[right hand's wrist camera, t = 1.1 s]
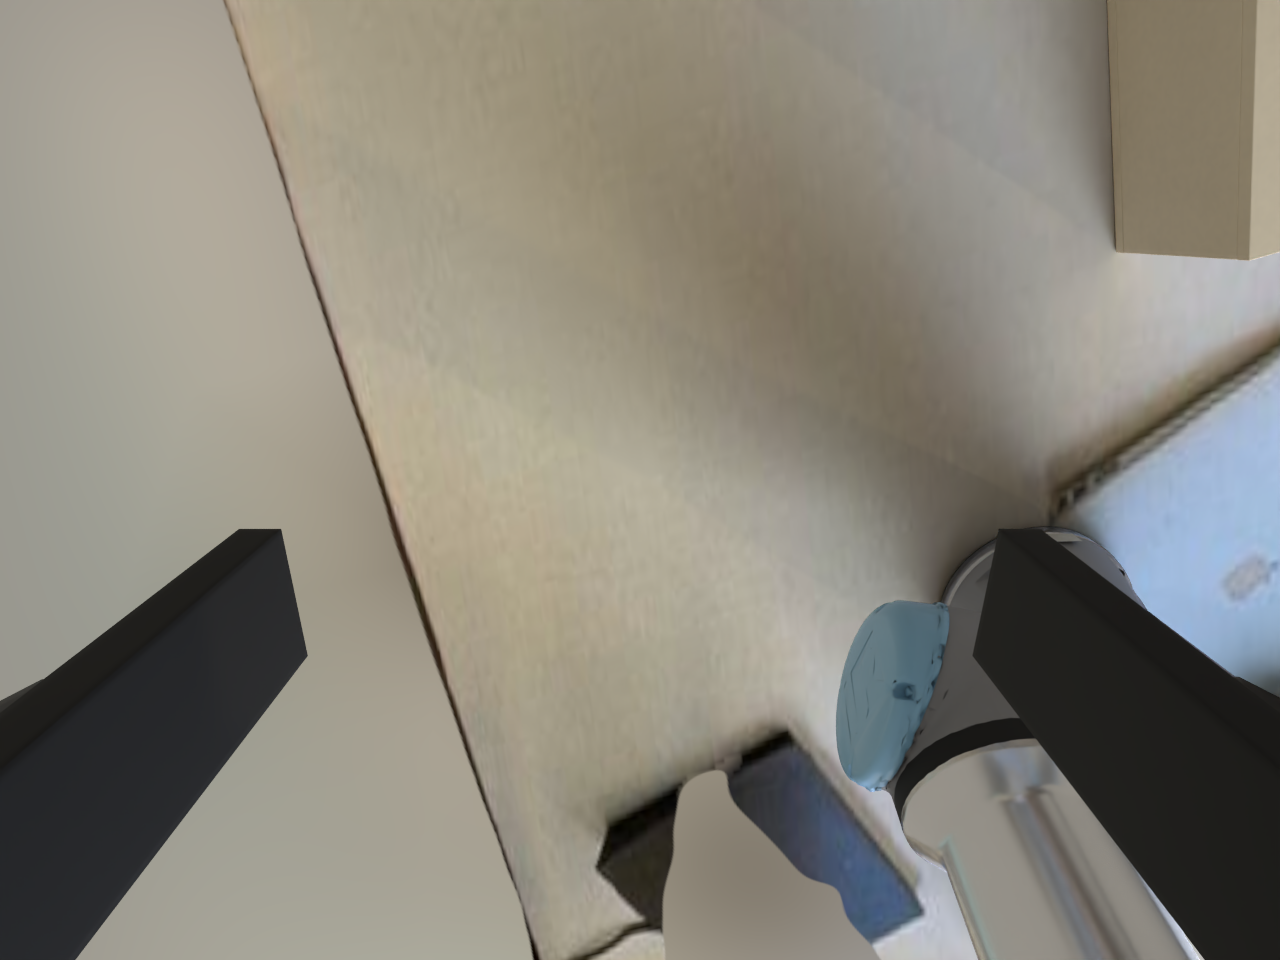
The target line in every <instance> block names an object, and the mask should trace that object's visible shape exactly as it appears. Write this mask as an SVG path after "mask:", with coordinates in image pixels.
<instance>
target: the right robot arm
mask: <svg viewBox="0 0 1280 960" xmlns="http://www.w3.org/2000/svg"><path fill="white" fill-rule="evenodd" d="M307 656H308V655H307V650H306V646H305V641H304V636H303V632H302V627H301V622H300V617H299V612H298V608H297V603H296V598H295V593H294V588H293V584H292V579H291V574H290V569H289V565H288V560H287V555H286V550H285V546H284V541H283V536H282V531H281V529H239V530H237V531H236V532H235V533H233V534H232V535H231V536H229V537H228V538H227V539H226V540H224V541H223V542H222V543H220V544H219V545H218V546H216V547H215V548H214V549H213V550H211V551H210V552H209V553H207V554H206V555H205V556H204V557H202V558H201V559H200V560H198V561H197V562H196V563H194V564H193V565H192V566H190V567H189V568H188V569H187V570H185V571H184V572H183V573H181V574H180V575H179V576H177V577H176V578H175V579H174V580H172V581H171V582H170V583H168V584H167V585H166V586H165V587H163V588H162V589H161V590H159V591H158V592H157V593H155V594H154V595H153V596H152V597H150V598H149V599H148V600H146V601H145V602H144V603H142V604H141V605H140V606H138V607H137V608H136V609H135V610H133V611H132V612H131V613H129V614H128V615H127V616H125V617H124V618H123V619H121V620H120V621H119V622H118V623H116V624H115V625H114V626H112V627H111V628H110V629H108V630H107V631H106V632H105V633H103V634H102V635H101V636H99V637H98V638H97V639H95V640H94V641H93V642H92V643H90V644H89V645H88V646H86V647H85V648H84V649H82V650H81V651H80V652H79V653H77V654H76V655H75V656H73V657H72V658H71V659H69V660H68V661H67V662H66V663H64V664H63V665H62V666H60V667H59V668H58V669H56V670H55V671H54V672H53V673H51V674H50V675H49V676H47V677H46V678H45V679H42V680H40V681H38V682H36V683H34V684H32V685H30V686H28V687H26V688H24V689H22V690H20V691H19V692H17V693H15V694H13V695H11V696H9V697H7V698H5V699H3V700H1V701H0V960H75V959H76V958H77V957H78V956H79V954H80V953H81V952H82V950H83V949H84V948H85V946H86V945H87V944H88V942H89V941H90V940H91V939H92V937H93V936H94V935H95V933H96V932H97V931H98V929H99V928H100V927H101V925H102V924H103V923H104V922H105V920H106V919H107V918H108V916H109V915H110V914H111V912H112V911H113V910H114V908H115V907H116V906H117V905H118V903H119V902H120V901H121V899H122V898H123V897H124V895H125V894H126V893H127V891H128V890H129V889H130V888H131V886H132V885H133V883H134V882H135V881H136V880H137V878H138V877H139V876H140V874H141V873H142V872H143V871H144V869H145V868H146V867H147V865H148V864H149V863H150V861H151V860H152V859H153V857H154V856H155V855H156V854H157V852H158V851H159V850H160V848H161V847H162V846H163V844H164V843H165V842H166V840H167V839H168V838H169V836H170V835H171V834H172V833H173V831H174V830H175V829H176V827H177V826H178V825H179V823H180V822H181V821H182V819H183V818H184V817H185V816H186V814H187V813H188V812H189V810H190V809H191V808H192V806H193V805H194V804H195V802H196V801H197V800H198V798H199V797H200V796H201V795H202V793H203V792H204V791H205V789H206V788H207V787H208V785H209V784H210V783H211V782H212V780H213V779H214V778H215V776H216V775H217V774H218V772H219V771H220V770H221V768H222V767H223V766H224V765H225V763H226V762H227V761H228V759H229V758H230V757H231V755H232V754H233V753H234V751H235V750H236V749H237V748H238V746H239V745H240V744H241V742H242V741H243V740H244V738H245V737H246V736H247V734H248V733H249V732H250V731H251V729H252V728H253V727H254V725H255V724H256V723H257V721H258V720H259V719H260V717H261V716H262V715H263V714H264V712H265V711H266V710H267V708H268V707H269V706H270V704H271V703H272V702H273V700H274V699H275V698H276V697H277V695H278V694H279V693H280V691H281V690H282V689H283V687H284V686H285V685H286V683H287V682H288V681H289V680H290V678H291V677H292V676H293V674H294V673H295V672H296V670H297V669H298V668H299V666H300V665H301V664H302V663H303V661H304V660H305V659H306V657H307ZM972 656H973V657H974V659H975V660H976V661H977V663H978V664H979V665H980V666H981V668H982V669H983V670H984V672H985V673H986V674H987V676H988V677H989V678H990V680H991V681H992V682H993V683H994V685H995V686H996V687H997V689H998V690H999V691H1000V693H1001V694H1002V695H1003V697H1004V698H1005V699H1006V700H1007V702H1008V703H1009V704H1010V706H1011V707H1012V708H1013V710H1014V711H1015V712H1016V714H1017V715H1018V716H1019V717H1020V719H1021V720H1022V721H1023V723H1024V724H1025V725H1026V727H1027V728H1028V729H1029V731H1030V732H1031V733H1032V734H1033V736H1034V737H1035V738H1036V740H1037V741H1038V742H1039V744H1040V745H1041V746H1042V748H1043V749H1044V750H1045V751H1046V753H1047V754H1048V755H1049V757H1050V758H1051V759H1052V761H1053V762H1054V763H1055V765H1056V766H1057V767H1058V768H1059V770H1060V771H1061V772H1062V774H1063V775H1064V776H1065V778H1066V779H1067V780H1068V782H1069V783H1070V784H1071V785H1072V787H1073V788H1074V789H1075V791H1076V792H1077V793H1078V795H1079V796H1080V797H1081V799H1082V800H1083V801H1084V802H1085V804H1086V805H1087V806H1088V808H1089V809H1090V810H1091V812H1092V813H1093V814H1094V816H1095V817H1096V818H1097V819H1098V821H1099V822H1100V823H1101V825H1102V826H1103V827H1104V829H1105V830H1106V831H1107V833H1108V834H1109V835H1110V837H1111V838H1112V839H1113V840H1114V842H1115V843H1116V844H1117V846H1118V847H1119V848H1120V850H1121V851H1122V852H1123V854H1124V855H1125V856H1126V857H1127V859H1128V860H1129V861H1130V863H1131V864H1132V865H1133V867H1134V868H1135V869H1136V871H1137V872H1138V873H1139V874H1140V876H1141V877H1142V878H1143V880H1144V881H1145V882H1146V884H1147V885H1148V886H1149V888H1150V889H1151V890H1152V891H1153V893H1154V894H1155V895H1156V897H1157V898H1158V899H1159V901H1160V902H1161V903H1162V905H1163V906H1164V907H1165V908H1166V910H1167V911H1168V912H1169V914H1170V915H1171V916H1172V918H1173V919H1174V920H1175V922H1176V923H1177V924H1178V925H1179V927H1180V928H1181V929H1182V931H1183V932H1184V933H1185V935H1186V936H1187V937H1188V939H1189V940H1190V941H1191V942H1192V944H1193V945H1194V946H1195V948H1196V949H1197V950H1198V952H1199V953H1200V954H1201V956H1202V957H1203V958H1204V959H1205V960H1280V698H1279V697H1277V696H1275V695H1273V694H1271V693H1269V692H1267V691H1265V690H1263V689H1262V688H1260V687H1258V686H1256V685H1254V684H1252V683H1250V682H1248V681H1246V680H1244V679H1242V678H1240V677H1233V676H1231V675H1230V674H1229V673H1227V672H1226V671H1225V670H1224V669H1222V668H1221V667H1220V666H1218V665H1217V664H1216V663H1214V662H1213V661H1212V660H1211V659H1209V658H1208V657H1207V656H1205V655H1204V654H1203V653H1201V652H1200V651H1199V650H1198V649H1196V648H1195V647H1194V646H1192V645H1191V644H1190V643H1188V642H1187V641H1186V640H1185V639H1183V638H1182V637H1181V636H1179V635H1178V634H1177V633H1175V632H1174V631H1173V630H1172V629H1170V628H1169V627H1168V626H1166V625H1165V624H1164V623H1162V622H1161V621H1160V620H1159V619H1157V618H1156V617H1155V616H1153V615H1152V614H1151V613H1149V612H1148V611H1147V610H1145V609H1144V608H1143V607H1142V606H1140V605H1139V604H1138V603H1136V602H1135V601H1134V600H1132V599H1131V598H1130V597H1129V596H1127V595H1126V594H1125V593H1123V592H1122V591H1121V590H1119V589H1118V588H1117V587H1116V586H1114V585H1113V584H1112V583H1110V582H1109V581H1108V580H1106V579H1105V578H1104V577H1103V576H1101V575H1100V574H1099V573H1097V572H1096V571H1095V570H1093V569H1092V568H1091V567H1090V566H1088V565H1087V564H1086V563H1084V562H1083V561H1082V560H1080V559H1079V558H1078V557H1077V556H1075V555H1074V554H1073V553H1071V552H1070V551H1069V550H1067V549H1066V548H1065V547H1064V546H1062V545H1061V544H1060V543H1058V542H1057V541H1056V540H1054V539H1053V538H1052V537H1051V536H1049V535H1048V534H1047V533H1045V532H1044V531H1043V530H1041V529H999V531H998V536H997V541H996V545H995V550H994V555H993V560H992V565H991V569H990V574H989V579H988V584H987V588H986V593H985V598H984V603H983V607H982V612H981V617H980V622H979V627H978V631H977V636H976V641H975V646H974V650H973V655H972Z"/></svg>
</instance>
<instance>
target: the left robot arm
mask: <svg viewBox="0 0 1280 960" xmlns="http://www.w3.org/2000/svg"><path fill="white" fill-rule="evenodd" d="M1027 529H1041V530H1043V531H1044V532H1045V533H1047V534H1048V535H1049V536H1051V537H1052V538H1053V539H1054V540H1056V541H1057V542H1058V543H1060V544H1061V545H1062V546H1064V547H1065V548H1066V549H1067V550H1069V551H1070V552H1071V553H1073V554H1074V555H1075V556H1077V557H1078V558H1079V559H1080V560H1082V561H1083V562H1084V563H1086V564H1087V565H1088V566H1090V567H1091V568H1092V569H1093V570H1095V571H1096V572H1097V573H1099V574H1100V575H1101V576H1103V577H1104V578H1105V579H1106V580H1108V581H1109V582H1110V583H1112V584H1113V585H1114V586H1116V587H1117V588H1118V589H1119V590H1121V591H1122V592H1123V593H1125V594H1126V595H1127V596H1129V597H1130V598H1131V599H1132V600H1134V601H1135V602H1136V603H1138V604H1139V605H1140V606H1142V607H1143V608H1144V609H1145V610H1147V609H1146V608H1145V606H1144V604H1143V603H1142V601H1141V600H1140V598H1139V597H1138V596H1137V595H1136V593H1135V592H1134V590H1133V588H1132V585H1131V582H1130V580H1129V578H1128V576H1127V574H1126V572H1125V570H1124V569H1123V567H1122V566H1121V565H1120V564H1119V562H1118V561H1117V560H1116V559H1115V558H1114V557H1113V556H1112V555H1111V554H1110V553H1109V552H1108V551H1107V550H1106V549H1104V548H1103V547H1102V546H1100V545H1099V544H1097V543H1096V542H1095V541H1093V540H1092V539H1090V538H1088V537H1087V536H1085V535H1083V534H1080V533H1078V532H1075V531H1072V530H1069V529H1064V528H1058V527H1034V528H1027ZM996 541H997V539H995V540H993V541H991V542H989V543H988V544H986V545H984V546H983V547H981V548H980V549H979V550H977V551H976V552H975V553H973V554H972V555H971V556H970V557H969V558H968V559H967V560H966V561H965V562H964V563H963V564H962V565H961V566H960V567H959V568H958V570H957V571H956V572H955V574H954V575H953V576H952V578H951V579H950V581H949V583H948V585H947V587H946V589H945V592H944V594H943V597H942V600H941V603H940V602H937V603H936V602H935V603H933V604H927V603H919V602H911V601H903V600H898V601H894V602H892V603H886V604H883V605H882V606H880V607H878V608H877V609H875V610H874V611H873V612H872V613H871V614H870V615H869V616H868V617H867V618H866V620H865V621H864V622H863V624H862V626H861V627H860V629H859V631H858V633H857V634H856V636H855V638H854V641H853V643H852V645H851V648H850V651H849V653H848V656H847V659H846V662H845V666H844V670H843V674H842V678H841V684H840V689H839V694H838V702H837V712H836V736H837V748H838V753H839V758H840V762H841V765H842V767H843V770H844V771H845V773H846V775H847V776H848V777H849V778H850V779H851V780H852V781H854V782H856V783H857V784H858V785H860V786H863V787H865V788H866V789H868V790H869V791H870V792H872V791H873V792H874V791H879V790H880V791H881V790H885V791H887V792H889V793H890V795H891V796H892V799H893V802H894V805H895V808H896V811H897V814H898V817H899V820H900V823H901V826H902V830H903V833H904V835H905V837H906V839H907V841H908V843H909V845H910V846H911V848H912V849H913V850H914V851H915V852H916V854H917V855H919V856H920V857H921V858H922V859H924V860H925V861H927V862H929V863H930V864H932V865H934V866H936V867H937V868H939V869H941V870H943V871H945V872H947V873H948V876H949V879H950V882H951V885H952V887H953V890H954V893H955V896H956V899H957V901H958V904H959V907H960V910H961V913H962V915H963V918H964V921H965V924H966V927H967V930H968V932H969V935H970V938H971V941H972V944H973V946H974V949H975V952H976V955H977V958H978V960H1200V959H1199V957H1198V956H1197V954H1196V952H1195V951H1194V949H1193V947H1192V946H1191V944H1190V942H1189V941H1188V939H1187V937H1186V936H1185V934H1184V933H1183V931H1182V929H1181V928H1180V927H1179V925H1178V924H1177V923H1176V922H1175V920H1174V919H1173V918H1172V916H1171V915H1170V914H1169V912H1168V911H1167V910H1166V908H1165V907H1164V906H1163V905H1162V903H1161V902H1160V901H1159V899H1158V898H1157V897H1156V895H1155V894H1154V893H1153V891H1152V890H1151V889H1150V888H1149V886H1148V885H1147V884H1146V882H1145V881H1144V880H1143V878H1142V877H1141V876H1140V874H1139V873H1138V872H1137V871H1136V869H1135V868H1134V867H1133V865H1132V864H1131V863H1130V861H1129V860H1128V859H1127V857H1126V856H1125V855H1124V854H1123V852H1122V851H1121V850H1120V848H1119V847H1118V846H1117V844H1116V843H1115V842H1114V840H1113V839H1112V838H1111V837H1110V835H1109V834H1108V833H1107V831H1106V830H1105V829H1104V827H1103V826H1102V825H1101V823H1100V822H1099V821H1098V819H1097V818H1096V817H1095V816H1094V814H1093V813H1092V812H1091V810H1090V809H1089V808H1088V806H1087V805H1086V804H1085V802H1084V801H1083V800H1082V799H1081V797H1080V796H1079V795H1078V793H1077V792H1076V791H1075V789H1074V788H1073V787H1072V785H1071V784H1070V783H1069V782H1068V780H1067V779H1066V778H1065V776H1064V775H1063V774H1062V772H1061V771H1060V770H1059V768H1058V767H1057V766H1056V765H1055V763H1054V762H1053V761H1052V759H1051V758H1050V757H1049V755H1048V754H1047V753H1046V751H1045V750H1044V749H1043V748H1042V746H1041V745H1040V744H1039V742H1038V741H1037V740H1036V738H1035V737H1034V736H1033V734H1032V733H1031V732H1030V731H1029V729H1028V728H1027V727H1026V725H1025V724H1024V723H1023V721H1022V720H1021V719H1020V717H1019V716H1018V715H1017V714H1016V712H1015V711H1014V710H1013V708H1012V707H1011V706H1010V704H1009V703H1008V702H1007V700H1006V699H1005V698H1004V697H1003V695H1002V694H1001V693H1000V691H999V690H998V689H997V687H996V686H995V685H994V683H993V682H992V681H991V680H990V678H989V677H988V676H987V674H986V673H985V672H984V670H983V669H982V668H981V666H980V665H979V664H978V663H977V661H976V660H975V659H974V657H973V656H972V655H973V650H974V646H975V641H976V636H977V631H978V627H979V622H980V617H981V612H982V607H983V603H984V598H985V593H986V588H987V584H988V579H989V574H990V569H991V565H992V560H993V555H994V550H995V545H996ZM1149 613H1150V612H1149ZM1152 615H1153V614H1152ZM1153 616H1154V615H1153ZM1157 619H1158V618H1157ZM1161 622H1162V621H1161ZM1162 623H1163V622H1162ZM1165 625H1166V624H1165ZM1166 626H1167V625H1166ZM1169 628H1170V627H1169ZM1170 629H1171V628H1170ZM1173 631H1174V630H1173ZM1174 632H1175V631H1174ZM1175 633H1176V632H1175ZM1177 634H1178V633H1177ZM1178 635H1179V634H1178ZM1179 636H1180V635H1179ZM1181 637H1182V636H1181ZM1182 638H1183V637H1182ZM1183 639H1184V638H1183ZM1185 640H1186V639H1185ZM1186 641H1187V640H1186ZM1187 642H1188V641H1187ZM1188 643H1190V642H1188ZM1190 644H1191V643H1190ZM1191 645H1192V644H1191ZM1192 646H1194V645H1192ZM1194 647H1195V646H1194ZM1195 648H1196V647H1195ZM1196 649H1198V648H1196ZM1198 650H1199V649H1198ZM1199 651H1200V650H1199ZM1200 652H1201V653H1203V652H1202V651H1200ZM1203 654H1204V653H1203ZM1204 655H1205V656H1207V655H1206V654H1204ZM1207 657H1208V656H1207ZM1208 658H1209V659H1211V658H1210V657H1208ZM1211 660H1212V659H1211ZM1212 661H1213V662H1214V663H1216V662H1215V661H1214V660H1212ZM1216 664H1217V665H1218V666H1220V665H1219V664H1218V663H1216ZM1220 667H1221V668H1222V669H1224V668H1223V667H1222V666H1220ZM1224 670H1225V671H1226V672H1227V673H1229V674H1230V675H1231V676H1233V677H1235V676H1234V675H1232V674H1231V673H1230V672H1228V671H1227V670H1226V669H1224Z"/></svg>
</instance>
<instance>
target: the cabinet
mask: <svg viewBox="0 0 1280 960" xmlns="http://www.w3.org/2000/svg"><path fill="white" fill-rule="evenodd" d="M1107 13H1108V40H1109V68H1110V96H1111V123H1112V151H1113V179H1114V206H1115V234H1116V252H1118V253H1135V254H1151V255H1168V256H1184V257H1200V258H1217V259H1233V260H1246V261H1250V260H1254V259H1257V258H1261V257H1264V256H1268V255H1272V254H1275V253H1279V252H1280V0H1107Z"/></svg>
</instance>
